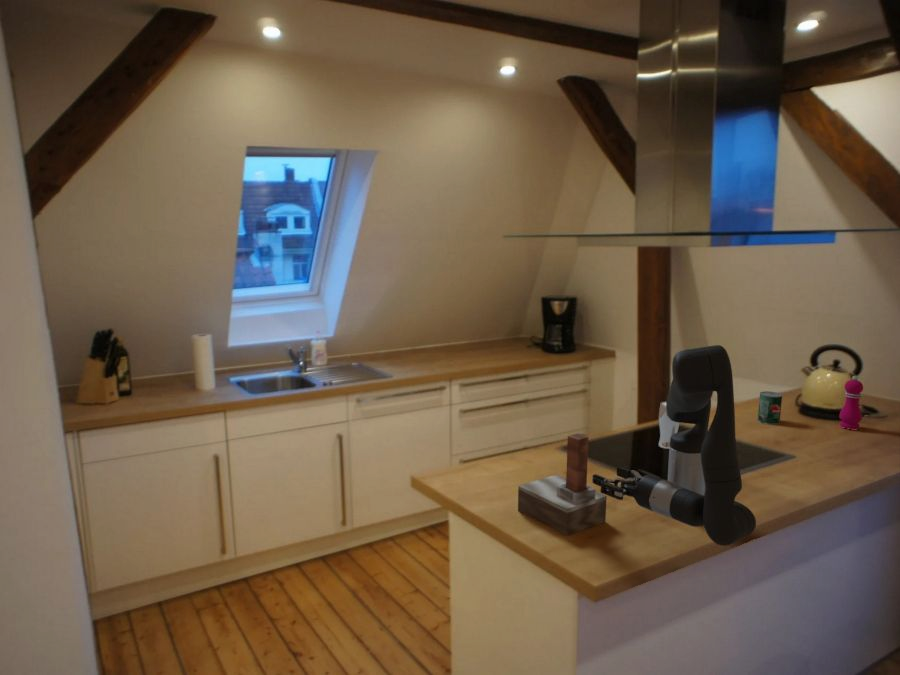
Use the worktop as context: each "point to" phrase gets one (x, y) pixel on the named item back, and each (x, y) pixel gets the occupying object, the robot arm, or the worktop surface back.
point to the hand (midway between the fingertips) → (605, 474)
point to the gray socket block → (561, 505)
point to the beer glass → (666, 427)
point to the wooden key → (577, 462)
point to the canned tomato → (769, 407)
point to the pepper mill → (851, 404)
